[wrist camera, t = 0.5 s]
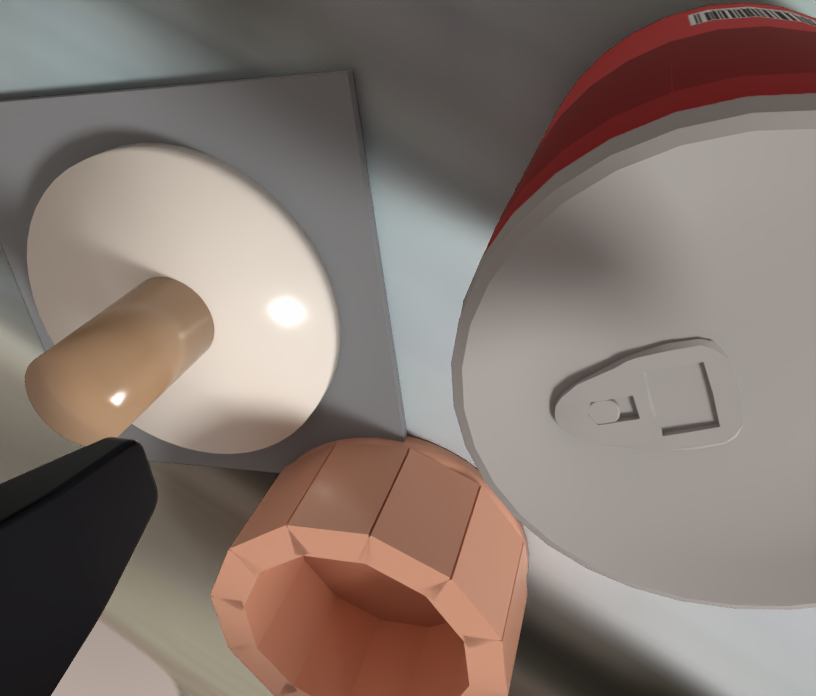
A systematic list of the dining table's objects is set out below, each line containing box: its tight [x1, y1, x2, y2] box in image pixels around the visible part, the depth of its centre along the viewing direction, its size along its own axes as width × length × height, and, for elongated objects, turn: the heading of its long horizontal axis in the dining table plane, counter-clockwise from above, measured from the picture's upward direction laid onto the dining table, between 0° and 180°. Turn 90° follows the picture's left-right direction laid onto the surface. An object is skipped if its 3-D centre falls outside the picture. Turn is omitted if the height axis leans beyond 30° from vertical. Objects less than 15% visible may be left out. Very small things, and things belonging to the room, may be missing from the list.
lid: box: [25, 143, 341, 454], centre depth 23 cm, size 11×11×6 cm
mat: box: [0, 70, 407, 473], centre depth 25 cm, size 14×14×1 cm
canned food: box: [451, 3, 816, 610], centre depth 14 cm, size 8×8×11 cm
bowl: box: [211, 436, 529, 696], centre depth 26 cm, size 10×10×5 cm
